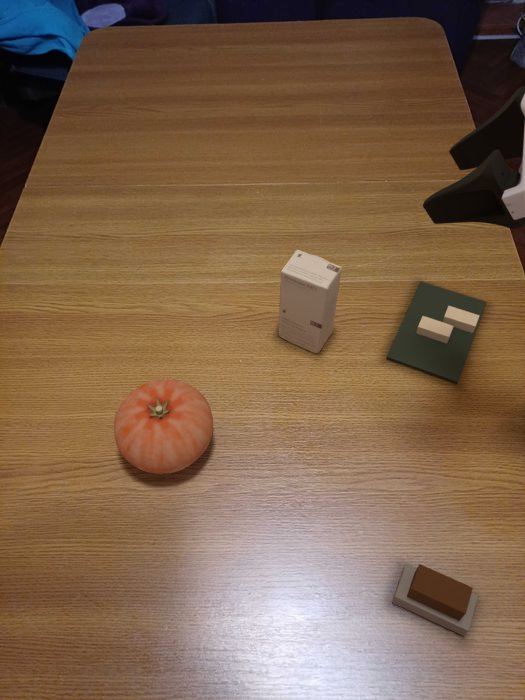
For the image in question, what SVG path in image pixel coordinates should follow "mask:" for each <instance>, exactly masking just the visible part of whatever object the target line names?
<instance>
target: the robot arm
mask: <svg viewBox="0 0 525 700" xmlns="http://www.w3.org/2000/svg"><path fill="white" fill-rule="evenodd" d="M448 153H449V154H450V156H451V158H452V160H453V161H454V163H455V164H456V166H457V169H459V171H466V170H472V171H470V172H469V173H468V174H466V175H465V176H464V177H462V178H460V179H458V180H457V181H455V182H453V183H451V184H449V185H448V186H445V187H443V188H441V189H440V190H438V191H435V192H434V193H433V194H431V195H429V197H427V198H426V199H425V200H424V201H423V203H422V208H423V209H424V210H425V212H426V213H427V215H428V217H429V218H430V220H431V222H432V223H433V224H434V225H444V224H445V225H446V224H458V223H459V224H460V223H462V224H463V223H479V224H481V223H482V224H489V225H495V226H500V227H505V228H508V229H510V230H518V229H520V228H523V227H525V86H524V85H523V86H520V87H518V88H517V89H516V90H515V91H514V93H513V94H512V95H511V96H510V98H509V99H508V100H507V101H506V102H505V104H503V106H502V107H500V108H499V109H498V110H497V111H496V112H495V113H494V114H493V115H492V116H491V117H489V118H488V119H487V120H486V121H484V122H483V123H481V124H480V125H479V126H478V127H476V128H475V129H473V130H472V131H470V133H468V134H467V135H465V136H464V137H461V139H459V140H458V141H457V142H456V143H455V144H454V145H452V146H450V148H449V150H448ZM517 158H519V159H520V158H522V161H521V164H520V167H519V169H516V170H514V171H511V169H510V167H509V165H508V163H507V162H506V160H510V159H517Z"/></svg>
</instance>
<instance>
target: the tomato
mask: <svg viewBox="0 0 525 700" xmlns="http://www.w3.org/2000/svg"><path fill="white" fill-rule="evenodd" d="M213 433H214V415H213V413H212V409H211V406H210V404H209V402H208V400H207V398H206V397H205V395H204V394H203V393H202V392H200V391H199V390H198V389H197V388H195V386H193V385H191V384H189V383H187V382H184V381H181V380H178V379H174V378H165V379H164V378H162V379H155V380H151V381H147V382H144V383H142V384H141V385H139V386H137V387H135V389H134V390H132V391H131V392H129V393H128V394H127V395H126V397H125V398H124V399H123V400H122V402H121V403H120V405H119V407H118V408H117V411H116V413H115V416H114V421H113V434H114V440H115V443H116V444H115V445H116V447H117V449H118V451H119V453H120V454H121V456H122V457H123V458H124V459H125V460H127V462H128V463H130V464H131V465H132V466H134V467H135V468H137V469H138V470H141V471H143V472H145V473H149V474H150V473H151V474H171V473H177V472H180V471H182V470H184V469H186V468H188V467H190V466H191V465H193V463H195V462H196V461H197V460H198V459H199V458H201V456H202V455H203V454H204V453H205V451H206V450H207V448H208V447H209V445H210V442H211V440H212V437H213Z"/></svg>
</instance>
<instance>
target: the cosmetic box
mask: <svg viewBox="0 0 525 700" xmlns="http://www.w3.org/2000/svg"><path fill="white" fill-rule="evenodd" d="M342 272H343V267H342V266H341V265H338V264H335V263H333V262H331V261H328V260H326V259H325V258H323V257H321V256H318V255H314V254H310V253H308V252H306V251H303V250H300V249H298V248H297V249H296V250H295V252H294V253H293V254H292V255H291V257H290V258H289V260H288V261H286V264H285V265H284V266H283V268H282V269H281V271H280V284H279V285H280V286H279V310H278V311H279V312H278V313H279V314H278V332H277V334H278V335H277V336H278V337H280V338H281V339H283V340H285V341H287V342H289V343H291V344H293V345H295V346H297V347H299V348H302V349H304V350H307V351H309V352H312V353H314V354H319V353H320V352H321V350H322V349H323V347H324V345H325V344H326V342H327V341H328V339H329V338H330V336H331V335H332V334H333V330H334V324H335V316H336V312H337V311H336V310H337V304H338V297H339V291H340V285H341V278H342Z"/></svg>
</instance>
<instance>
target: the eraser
mask: <svg viewBox="0 0 525 700" xmlns="http://www.w3.org/2000/svg"><path fill="white" fill-rule="evenodd" d="M473 590H474V588H473V587H472V586H470V585H469V584H465V583H463V582H461V581H459V580H456V579H455V578H452V577H450V576H448V575H445V574H443V573H441V572H439V571H437V570H434V569H432V568H430V567H427V566H425V565H423V564H421V563H419V564H418V566H417V567H416V566H414V565H413V564H410V563H408V562H406V563H405V565H404V567H403V569H402V572H401V575H400V577H399V579H398V583H397V586H396V589H395V591H394V595H393V598H392V601H391V603H393V604H394V605H396V606H399V607H401V608H403V609H405V610H407V611H410V612H411V613H414V614H416V615H418V616H420V617H422V618H425V619H427V620H429V621H431V622H433V623H435V624H437V625H439V626H442V627H444V628H446V629H448V630H450V631H452V632H454V633H456V634H458V635H459V636H463V637H465V635H466V634H467V633H468V632H469V631H470V628H471V624H472V620H473V617H474V613H475V610H476V606H477V601H478V598H479V594H476V593H474V592H473Z"/></svg>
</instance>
